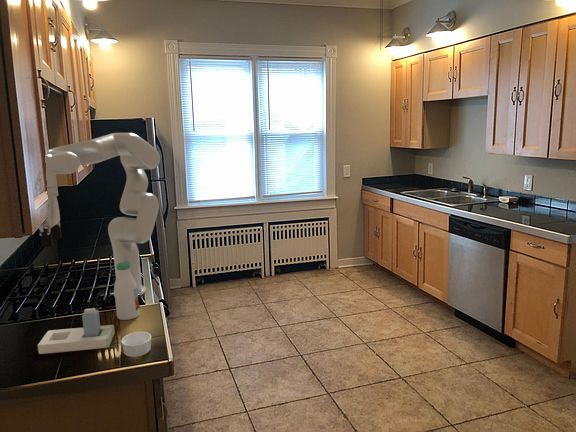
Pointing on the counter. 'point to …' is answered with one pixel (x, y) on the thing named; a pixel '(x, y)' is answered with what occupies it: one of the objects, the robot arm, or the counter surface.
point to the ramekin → (136, 344)
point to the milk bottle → (126, 293)
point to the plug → (91, 323)
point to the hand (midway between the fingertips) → (52, 242)
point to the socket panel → (74, 340)
